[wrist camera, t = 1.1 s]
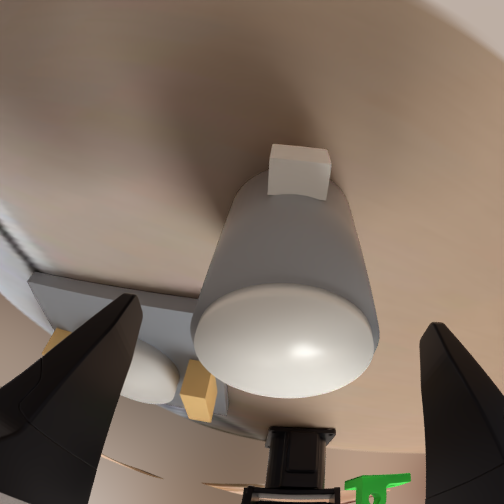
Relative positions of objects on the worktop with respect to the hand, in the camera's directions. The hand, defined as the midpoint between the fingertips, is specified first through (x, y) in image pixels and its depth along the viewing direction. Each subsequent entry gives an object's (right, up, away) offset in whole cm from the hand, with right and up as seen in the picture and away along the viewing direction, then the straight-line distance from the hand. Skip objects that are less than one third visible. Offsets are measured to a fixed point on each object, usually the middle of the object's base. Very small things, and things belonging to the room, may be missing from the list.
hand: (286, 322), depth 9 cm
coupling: (+1, +3, +4) cm, 5 cm away
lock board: (-9, -5, +12) cm, 16 cm away
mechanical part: (+23, -41, +35) cm, 59 cm away
